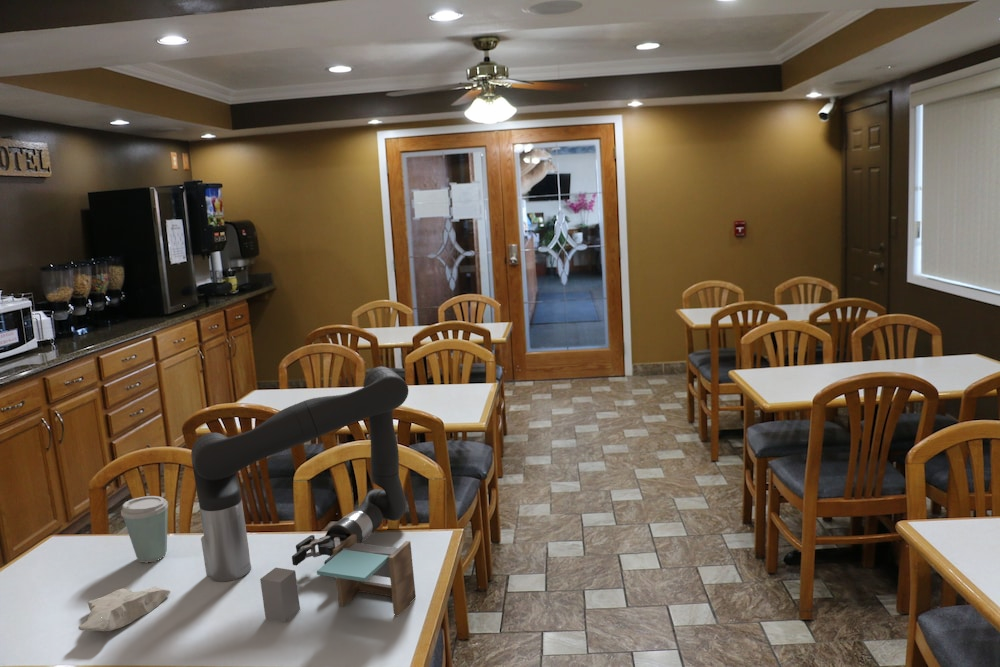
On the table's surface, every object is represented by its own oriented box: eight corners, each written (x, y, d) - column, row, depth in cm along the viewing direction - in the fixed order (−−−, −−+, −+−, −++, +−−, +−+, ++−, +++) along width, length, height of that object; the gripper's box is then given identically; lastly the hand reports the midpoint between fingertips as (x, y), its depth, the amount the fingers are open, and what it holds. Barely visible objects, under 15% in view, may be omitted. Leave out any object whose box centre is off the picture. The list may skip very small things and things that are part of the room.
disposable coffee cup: (160, 544, 203) (151, 489, 200) (185, 553, 196) (176, 496, 194) (120, 561, 194) (111, 504, 191) (145, 572, 188) (135, 513, 185)
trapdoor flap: (358, 565, 170) (355, 539, 169) (402, 571, 166) (400, 545, 165) (320, 598, 157) (316, 570, 156) (367, 606, 153) (364, 577, 152)
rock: (48, 642, 161) (102, 645, 156) (43, 620, 161) (98, 623, 156) (130, 596, 181) (181, 598, 176) (126, 576, 181) (177, 578, 175)
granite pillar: (265, 619, 164) (260, 579, 162) (280, 606, 168) (275, 567, 166) (285, 622, 162) (280, 582, 160) (300, 609, 166) (295, 570, 164)
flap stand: (358, 588, 173) (352, 534, 171) (415, 597, 168) (410, 541, 165) (339, 606, 167) (332, 549, 164) (398, 616, 161) (392, 557, 159)
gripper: (323, 514, 190) (280, 544, 175) (374, 520, 184) (335, 551, 170) (326, 543, 191) (285, 575, 177) (377, 550, 186) (339, 583, 171)
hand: (309, 563), depth 173 cm, fingers open, 8 cm apart
